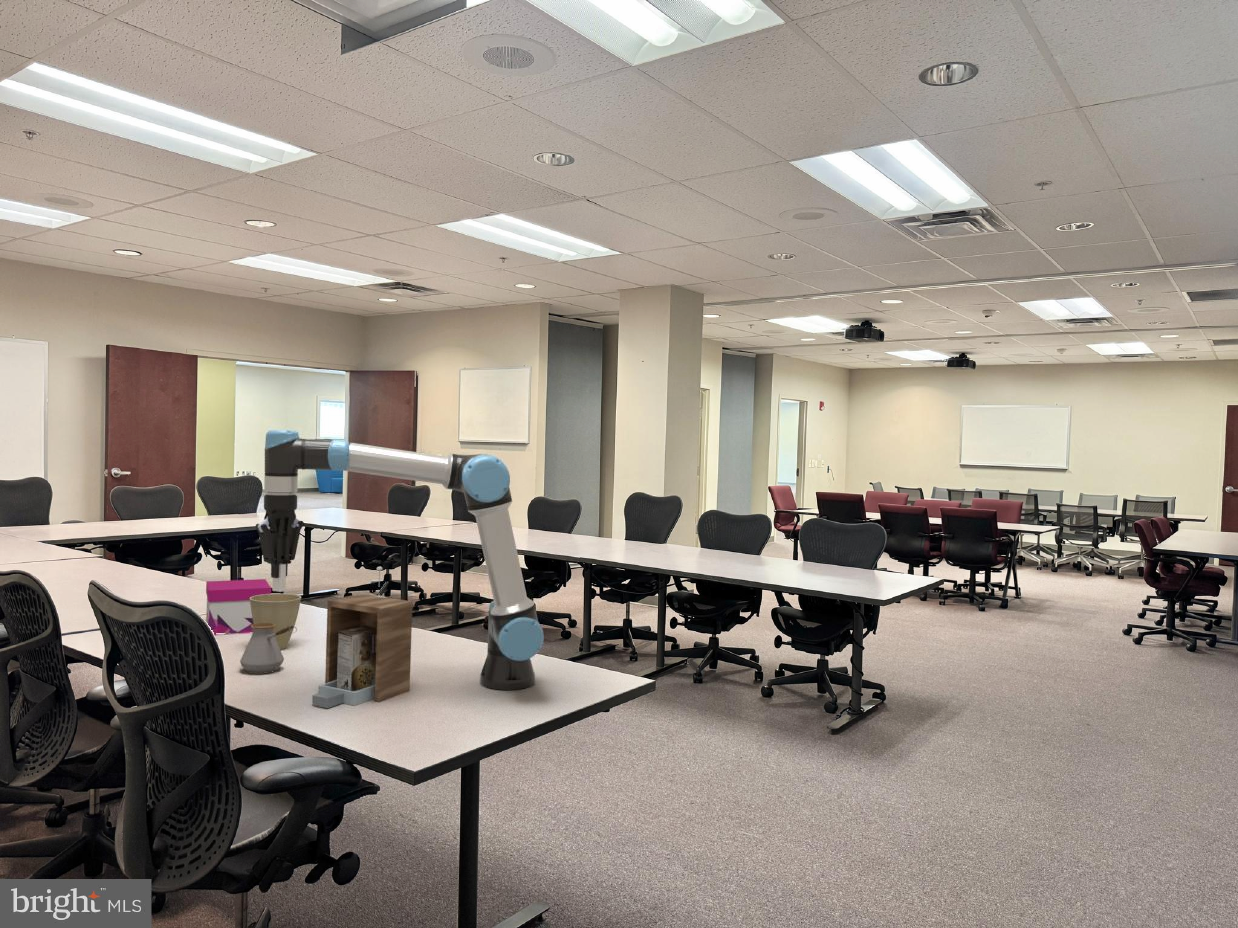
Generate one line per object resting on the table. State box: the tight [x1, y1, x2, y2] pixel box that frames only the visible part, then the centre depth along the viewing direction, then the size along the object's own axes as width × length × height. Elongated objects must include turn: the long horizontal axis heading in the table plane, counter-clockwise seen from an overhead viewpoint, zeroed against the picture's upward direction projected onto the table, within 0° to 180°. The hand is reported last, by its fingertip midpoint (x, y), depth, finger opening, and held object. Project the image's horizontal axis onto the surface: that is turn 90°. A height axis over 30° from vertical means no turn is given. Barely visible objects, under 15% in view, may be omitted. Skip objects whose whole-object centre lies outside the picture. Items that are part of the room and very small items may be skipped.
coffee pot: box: [239, 623, 298, 675], centre depth 237 cm, size 21×12×15 cm, turn 52°
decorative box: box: [205, 578, 272, 636], centre depth 291 cm, size 19×19×15 cm
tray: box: [311, 680, 375, 709], centre depth 217 cm, size 12×20×3 cm, turn 154°
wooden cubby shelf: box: [324, 593, 413, 703], centre depth 223 cm, size 18×12×24 cm, turn 64°
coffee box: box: [337, 626, 377, 692], centre depth 220 cm, size 9×6×16 cm
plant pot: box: [250, 593, 302, 651], centre depth 266 cm, size 15×15×16 cm
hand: (278, 590), depth 206 cm, fingers closed
